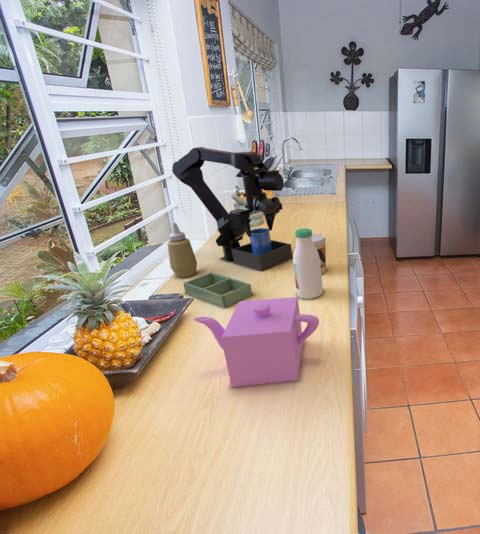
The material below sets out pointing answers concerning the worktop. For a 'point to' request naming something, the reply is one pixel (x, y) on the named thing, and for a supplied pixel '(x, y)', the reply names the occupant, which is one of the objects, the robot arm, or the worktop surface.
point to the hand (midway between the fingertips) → (260, 233)
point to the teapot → (263, 340)
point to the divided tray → (218, 289)
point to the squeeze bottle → (181, 253)
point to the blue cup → (260, 241)
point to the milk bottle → (307, 266)
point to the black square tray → (262, 256)
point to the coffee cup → (320, 249)
